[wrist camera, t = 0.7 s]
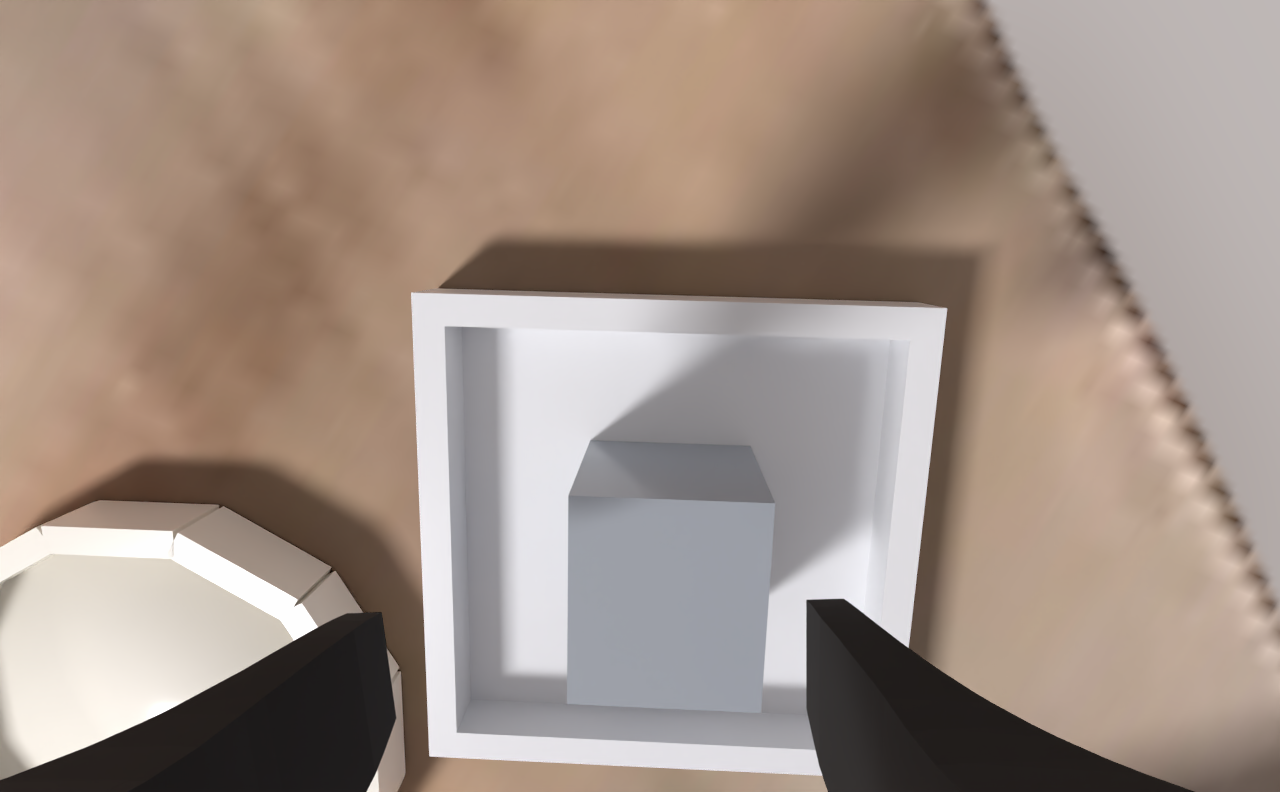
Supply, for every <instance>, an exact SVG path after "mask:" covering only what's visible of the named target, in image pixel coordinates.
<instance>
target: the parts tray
mask: <svg viewBox="0 0 1280 792" xmlns="http://www.w3.org/2000/svg"><path fill="white" fill-rule="evenodd" d="M411 300H412V326H413V351H414V377H415V402H416V428H417V454H418V479H419V505H420V530H421V556H422V582H423V607H424V633H425V659H426V684H427V710H428V735H429V756H430V757H450V758H471V759H492V760H512V761H533V762H553V763H574V764H594V765H615V766H635V767H656V768H676V769H697V770H717V771H738V772H758V773H779V774H799V775H820V776H823V775H822V773H821V770H820V767H819V763H818V759H817V754H816V750H815V746H814V741H813V737H812V732H811V728H810V723H809V718H808V714H807V709H806V600H813V599H845V600H846V601H848V602H849V603H851V604H852V605H853V606H855V607H856V608H857V609H859V610H860V611H861V612H862V613H864V614H865V615H866V616H868V617H869V618H870V619H871V620H873V621H874V622H875V623H876V624H878V625H879V626H880V627H882V628H883V629H884V630H885V631H887V632H888V633H889V634H891V635H892V636H893V637H895V638H896V639H897V640H898V641H900V642H901V643H902V644H904V645H905V646H907V647H908V648H909V640H910V632H911V623H912V614H913V605H914V596H915V588H916V579H917V570H918V561H919V553H920V544H921V535H922V526H923V518H924V509H925V500H926V491H927V482H928V474H929V465H930V456H931V447H932V439H933V430H934V421H935V412H936V404H937V395H938V386H939V377H940V368H941V360H942V351H943V342H944V333H945V325H946V316H947V308H944V307H939V306H934V305H929V304H925V303H920V302H894V301H859V300H824V299H790V298H755V297H720V296H685V295H651V294H616V293H581V292H546V291H511V290H477V289H442V288H436V289H430V290H424V291H418V292H412V293H411ZM590 440H599V441H627V442H656V443H684V444H713V445H742V446H751V448H752V450H753V453H754V455H755V457H756V460H757V462H758V464H759V467H760V469H761V471H762V474H763V476H764V478H765V481H766V483H767V485H768V488H769V490H770V492H771V494H772V497H773V499H774V501H775V516H774V530H773V545H772V560H771V574H770V589H769V603H768V618H767V632H766V647H765V661H764V676H763V691H762V705H761V713H747V712H726V711H704V710H682V709H661V708H639V707H617V706H596V705H574V704H567V629H568V495H569V493H570V490H571V488H572V485H573V483H574V480H575V478H576V475H577V473H578V470H579V468H580V465H581V462H582V460H583V457H584V455H585V452H586V450H587V447H588V445H589V442H590Z"/></svg>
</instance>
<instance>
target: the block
mask: <svg viewBox="0 0 1280 792" xmlns="http://www.w3.org/2000/svg"><path fill="white" fill-rule="evenodd" d="M774 516H775V501H774V499H773V497H772V494H771V492H770V490H769V488H768V485H767V483H766V481H765V478H764V476H763V474H762V471H761V469H760V467H759V464H758V462H757V460H756V457H755V455H754V453H753V450H752V448H751V446H742V445H713V444H684V443H656V442H627V441H599V440H590V442H589V445H588V447H587V450H586V452H585V455H584V457H583V460H582V462H581V465H580V468H579V470H578V473H577V475H576V478H575V480H574V483H573V485H572V488H571V490H570V493H569V495H568V629H567V704H574V705H596V706H617V707H639V708H661V709H682V710H704V711H726V712H747V713H761V705H762V691H763V676H764V661H765V647H766V632H767V618H768V603H769V589H770V574H771V560H772V545H773V530H774Z"/></svg>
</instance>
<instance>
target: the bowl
mask: <svg viewBox="0 0 1280 792" xmlns="http://www.w3.org/2000/svg"><path fill="white" fill-rule="evenodd" d="M331 568H332V567H331V566H329V565H327V564H325V563H323V562H322V561H320V560H318V559H316V558H315V557H313V556H311V555H309V554H308V553H306V552H304V551H302V550H300V549H299V548H297V547H295V546H293V545H292V544H290V543H288V542H286V541H285V540H283V539H281V538H279V537H277V536H276V535H274V534H272V533H270V532H269V531H267V530H265V529H263V528H262V527H260V526H258V525H256V524H254V523H253V522H251V521H249V520H247V519H246V518H244V517H242V516H240V515H238V514H237V513H235V512H233V511H231V510H230V509H228V508H226V507H224V506H223V507H221V508H219V505H213V504H187V503H161V502H135V501H109V500H99V501H96V502H95V501H94V502H92V503H90V504H87V505H85V506H83V507H81V508H78V509H76V510H74V511H71V512H69V513H67V514H65V515H62V516H60V517H58V518H56V519H53V520H51V521H49V522H46V523H44V524H42V525H40V526H37V527H35V528H34V529H32V530H30V531H28V532H27V533H25V534H23V535H21V536H19V537H18V538H16V539H14V540H12V541H11V542H9V543H7V544H5V545H4V546H2V547H0V780H2V779H5V778H8V777H10V776H13V775H15V774H18V773H21V772H23V771H26V770H28V769H31V768H33V767H36V766H39V765H41V764H44V763H46V762H49V761H52V760H54V759H57V758H59V757H62V756H65V755H67V754H70V753H72V752H75V751H78V750H80V749H83V748H85V747H88V746H90V745H92V744H95V743H97V742H99V741H102V740H104V739H106V738H109V737H111V736H113V735H115V734H117V733H120V732H122V731H124V730H126V729H129V728H131V727H133V726H135V725H138V724H140V723H142V722H144V721H146V720H148V719H150V718H152V717H154V716H156V715H159V714H161V713H163V712H165V711H167V710H169V709H171V708H173V707H175V706H177V705H179V704H181V703H182V702H184V701H186V700H188V699H190V698H192V697H194V696H195V695H197V694H199V693H201V692H203V691H205V690H207V689H209V688H210V687H212V686H214V685H216V684H218V683H220V682H222V681H223V680H225V679H227V678H229V677H231V676H233V675H235V674H237V673H238V672H240V671H242V670H244V669H245V668H247V667H249V666H251V665H252V664H254V663H256V662H258V661H259V660H261V659H263V658H265V657H266V656H268V655H270V654H272V653H273V652H275V651H277V650H279V649H280V648H282V647H284V646H286V645H287V644H289V643H291V642H292V641H294V640H296V639H298V638H299V637H301V636H303V635H305V634H307V633H308V632H310V631H312V630H314V629H316V628H317V627H319V626H321V625H323V624H325V623H327V622H329V621H331V620H333V619H335V618H337V617H339V616H342V615H344V614H346V613H363V611H362V610H361V608H360V607H359V605H358V604H357V602H356V601H355V599H354V598H353V596H352V595H351V593H350V592H349V590H348V589H347V587H346V586H345V584H344V583H343V581H342V580H341V578H340V577H339V575H338V574H337V572H336V571H334V572H332V573H330V574H328V573H329V571H330V569H331ZM387 654H388V661H389V668H390V676H391V683H392V690H393V697H394V704H395V711H396V721H395V724H394V726H393V729H392V732H391V735H390V738H389V740H388V743H387V746H386V749H385V751H384V754H383V757H382V759H381V762H380V764H379V767H378V769H377V772H376V774H375V776H374V778H373V780H372V782H371V784H370V786H369V788H368V790H367V792H398V790H399V788H400V786H401V784H402V782H403V780H404V778H405V777H404V776H405V774H406V770H405V749H404V728H403V706H402V685H401V671H397V670H398V669H399V666H398V664H397V663H396V661H395V660H394V658H393V657H392V655H391V654H390V652H389V651H388V649H387Z"/></svg>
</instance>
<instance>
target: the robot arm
mask: <svg viewBox="0 0 1280 792" xmlns="http://www.w3.org/2000/svg"><path fill="white" fill-rule="evenodd" d="M806 709H807V714H808V718H809V723H810V728H811V732H812V737H813V741H814V746H815V750H816V754H817V759H818V763H819V767H820V770H821V773H822V775H823V778H824V781H825V784H826V787H827V790H828V792H1194V791H1191V790H1188V789H1185V788H1183V787H1180V786H1177V785H1174V784H1171V783H1169V782H1166V781H1163V780H1160V779H1157V778H1155V777H1152V776H1149V775H1146V774H1143V773H1141V772H1138V771H1136V770H1133V769H1131V768H1128V767H1126V766H1123V765H1121V764H1118V763H1116V762H1113V761H1111V760H1108V759H1106V758H1103V757H1101V756H1099V755H1097V754H1094V753H1092V752H1090V751H1088V750H1085V749H1083V748H1081V747H1079V746H1076V745H1074V744H1072V743H1070V742H1067V741H1065V740H1063V739H1061V738H1058V737H1056V736H1054V735H1052V734H1050V733H1048V732H1046V731H1044V730H1042V729H1040V728H1038V727H1036V726H1034V725H1032V724H1030V723H1028V722H1026V721H1024V720H1023V719H1021V718H1019V717H1017V716H1015V715H1013V714H1011V713H1010V712H1008V711H1006V710H1004V709H1002V708H1000V707H999V706H997V705H995V704H993V703H991V702H990V701H988V700H986V699H984V698H983V697H981V696H979V695H978V694H976V693H974V692H973V691H971V690H970V689H968V688H966V687H965V686H963V685H962V684H960V683H959V682H957V681H956V680H954V679H953V678H951V677H949V676H948V675H946V674H945V673H943V672H942V671H940V670H939V669H937V668H936V667H934V666H933V665H932V664H930V663H929V662H927V661H926V660H924V659H923V658H922V657H920V656H919V655H917V654H916V653H915V652H913V651H912V650H911V649H909V648H908V647H907V646H905V645H904V644H902V643H901V642H900V641H898V640H897V639H896V638H895V637H893V636H892V635H891V634H889V633H888V632H887V631H885V630H884V629H883V628H882V627H880V626H879V625H878V624H876V623H875V622H874V621H873V620H871V619H870V618H869V617H868V616H866V615H865V614H864V613H862V612H861V611H860V610H859V609H857V608H856V607H855V606H853V605H852V604H851V603H849V602H848V601H846V600H845V599H813V600H806ZM395 721H396V711H395V704H394V697H393V690H392V683H391V676H390V668H389V661H388V654H387V647H386V640H385V633H384V626H383V618H382V612H374V613H346V614H344V615H342V616H339V617H337V618H335V619H333V620H331V621H329V622H327V623H325V624H323V625H321V626H319V627H317V628H316V629H314V630H312V631H310V632H308V633H307V634H305V635H303V636H301V637H299V638H298V639H296V640H294V641H292V642H291V643H289V644H287V645H286V646H284V647H282V648H280V649H279V650H277V651H275V652H273V653H272V654H270V655H268V656H266V657H265V658H263V659H261V660H259V661H258V662H256V663H254V664H252V665H251V666H249V667H247V668H245V669H244V670H242V671H240V672H238V673H237V674H235V675H233V676H231V677H229V678H227V679H225V680H223V681H222V682H220V683H218V684H216V685H214V686H212V687H210V688H209V689H207V690H205V691H203V692H201V693H199V694H197V695H195V696H194V697H192V698H190V699H188V700H186V701H184V702H182V703H181V704H179V705H177V706H175V707H173V708H171V709H169V710H167V711H165V712H163V713H161V714H159V715H156V716H154V717H152V718H150V719H148V720H146V721H144V722H142V723H140V724H138V725H135V726H133V727H131V728H129V729H126V730H124V731H122V732H120V733H117V734H115V735H113V736H111V737H109V738H106V739H104V740H102V741H99V742H97V743H95V744H92V745H90V746H88V747H85V748H83V749H80V750H78V751H75V752H72V753H70V754H67V755H65V756H62V757H59V758H57V759H54V760H52V761H49V762H46V763H44V764H41V765H39V766H36V767H33V768H31V769H28V770H26V771H23V772H21V773H18V774H15V775H13V776H10V777H8V778H5V779H2V780H0V792H367V790H368V788H369V786H370V784H371V782H372V780H373V778H374V776H375V774H376V772H377V769H378V767H379V764H380V762H381V759H382V757H383V754H384V751H385V749H386V746H387V743H388V740H389V738H390V735H391V732H392V729H393V726H394V724H395Z"/></svg>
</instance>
